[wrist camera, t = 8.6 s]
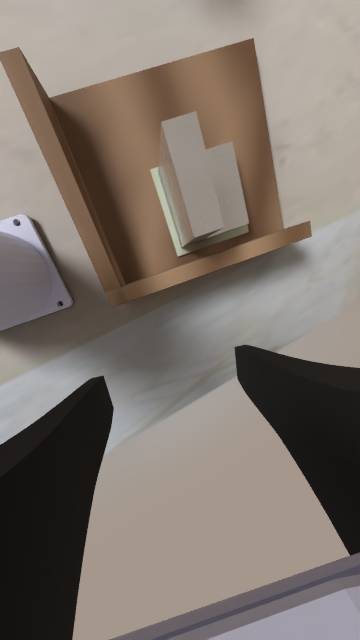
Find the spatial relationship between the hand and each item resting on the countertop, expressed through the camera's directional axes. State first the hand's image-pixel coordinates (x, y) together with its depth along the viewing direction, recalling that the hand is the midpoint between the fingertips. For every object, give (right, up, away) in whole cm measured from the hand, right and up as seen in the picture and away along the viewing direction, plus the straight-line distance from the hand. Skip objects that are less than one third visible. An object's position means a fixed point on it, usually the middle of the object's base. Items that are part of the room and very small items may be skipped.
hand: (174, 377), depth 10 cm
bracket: (+2, +13, +6) cm, 15 cm away
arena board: (0, +15, +6) cm, 16 cm away
